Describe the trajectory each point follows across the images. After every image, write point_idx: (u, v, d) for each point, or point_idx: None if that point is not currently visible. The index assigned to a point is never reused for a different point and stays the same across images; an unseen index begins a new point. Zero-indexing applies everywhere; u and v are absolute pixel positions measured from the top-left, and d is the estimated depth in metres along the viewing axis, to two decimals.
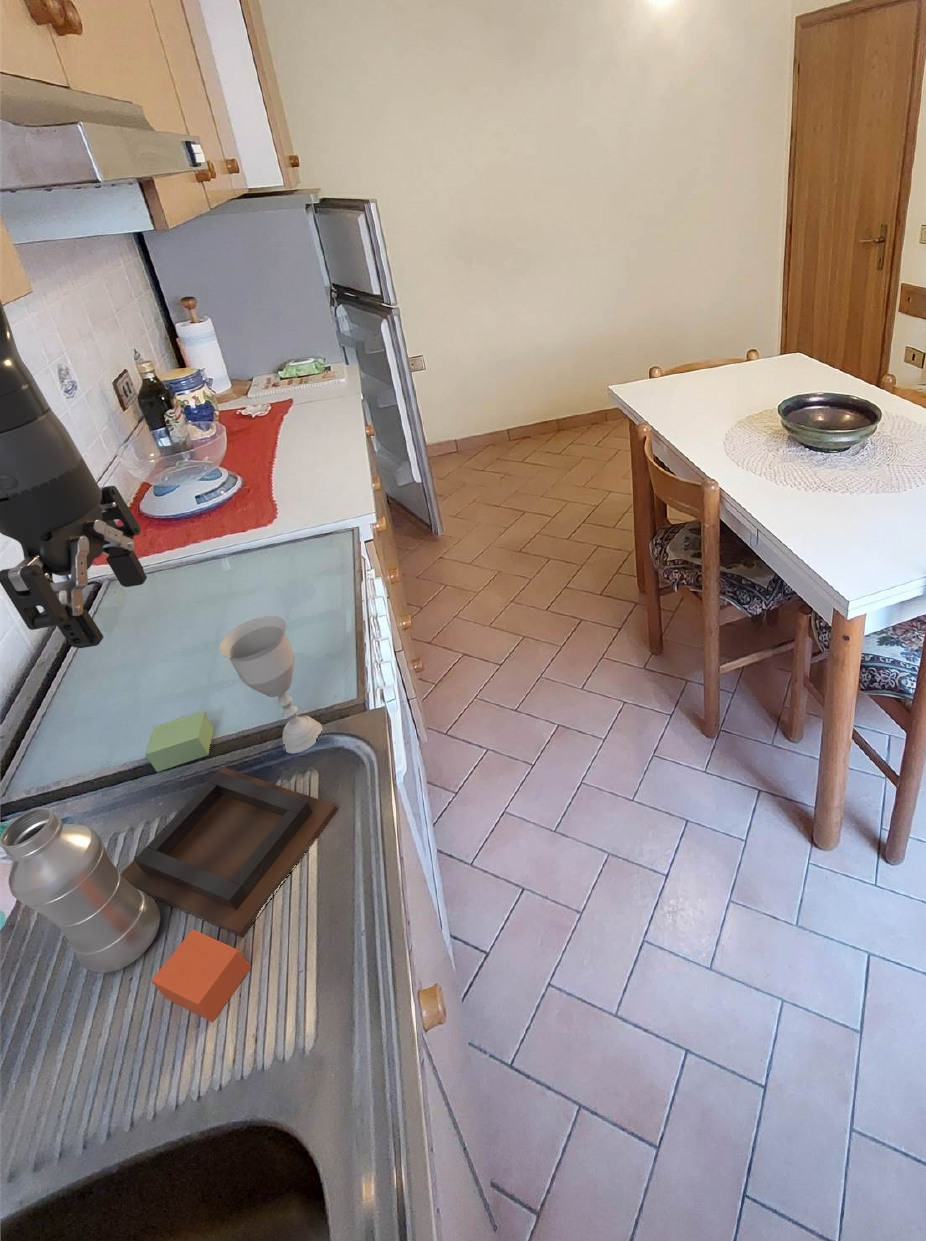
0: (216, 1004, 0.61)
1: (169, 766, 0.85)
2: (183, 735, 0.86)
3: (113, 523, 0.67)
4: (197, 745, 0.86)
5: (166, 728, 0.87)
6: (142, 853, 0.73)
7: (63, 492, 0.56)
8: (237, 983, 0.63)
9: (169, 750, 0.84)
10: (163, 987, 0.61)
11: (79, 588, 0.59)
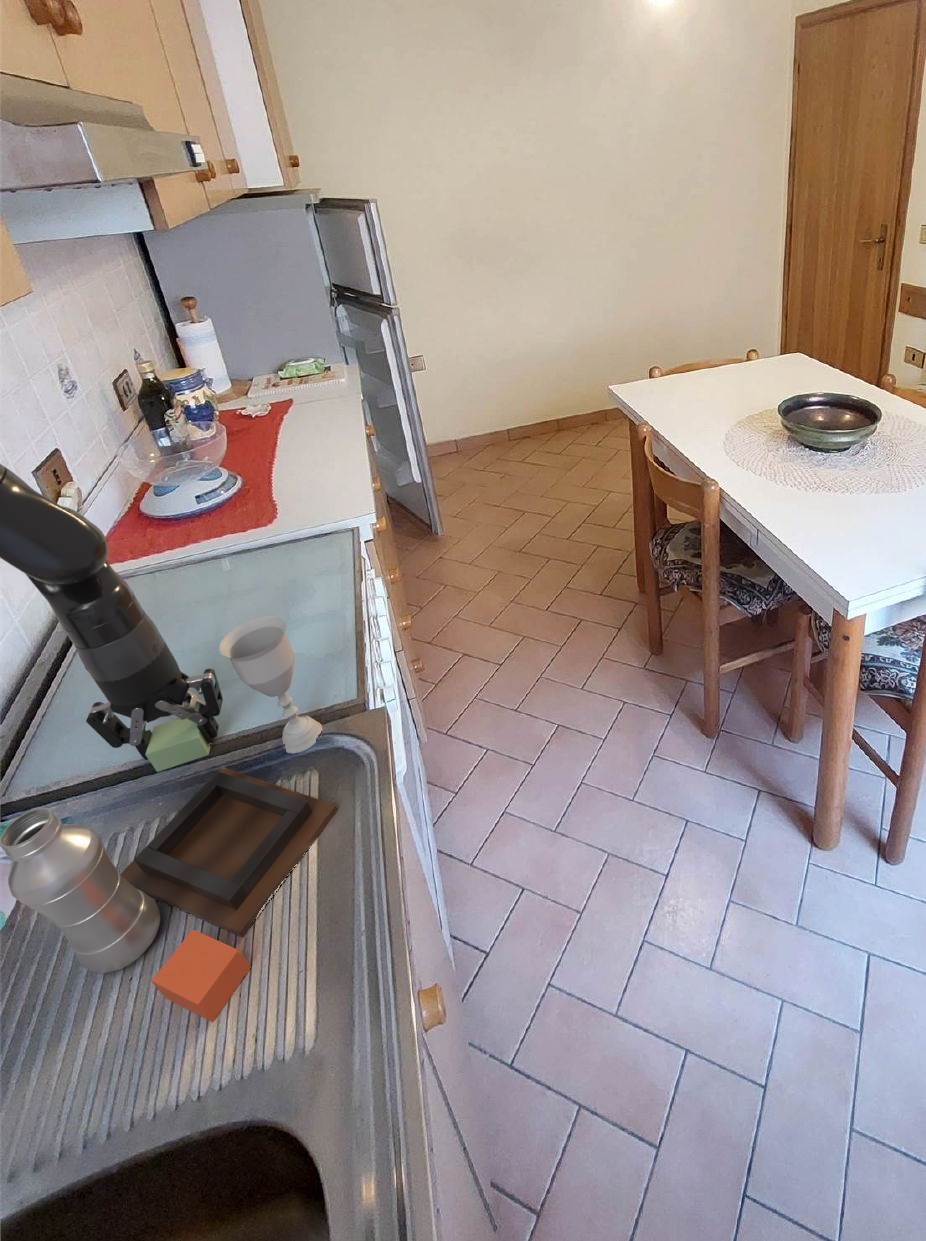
0: (216, 1004, 0.61)
1: (169, 766, 0.85)
2: (183, 735, 0.86)
3: (218, 696, 0.87)
4: (197, 745, 0.86)
5: (166, 728, 0.87)
6: (142, 853, 0.73)
7: (106, 690, 0.77)
8: (237, 983, 0.63)
9: (169, 750, 0.84)
10: (163, 987, 0.61)
11: (137, 732, 0.83)
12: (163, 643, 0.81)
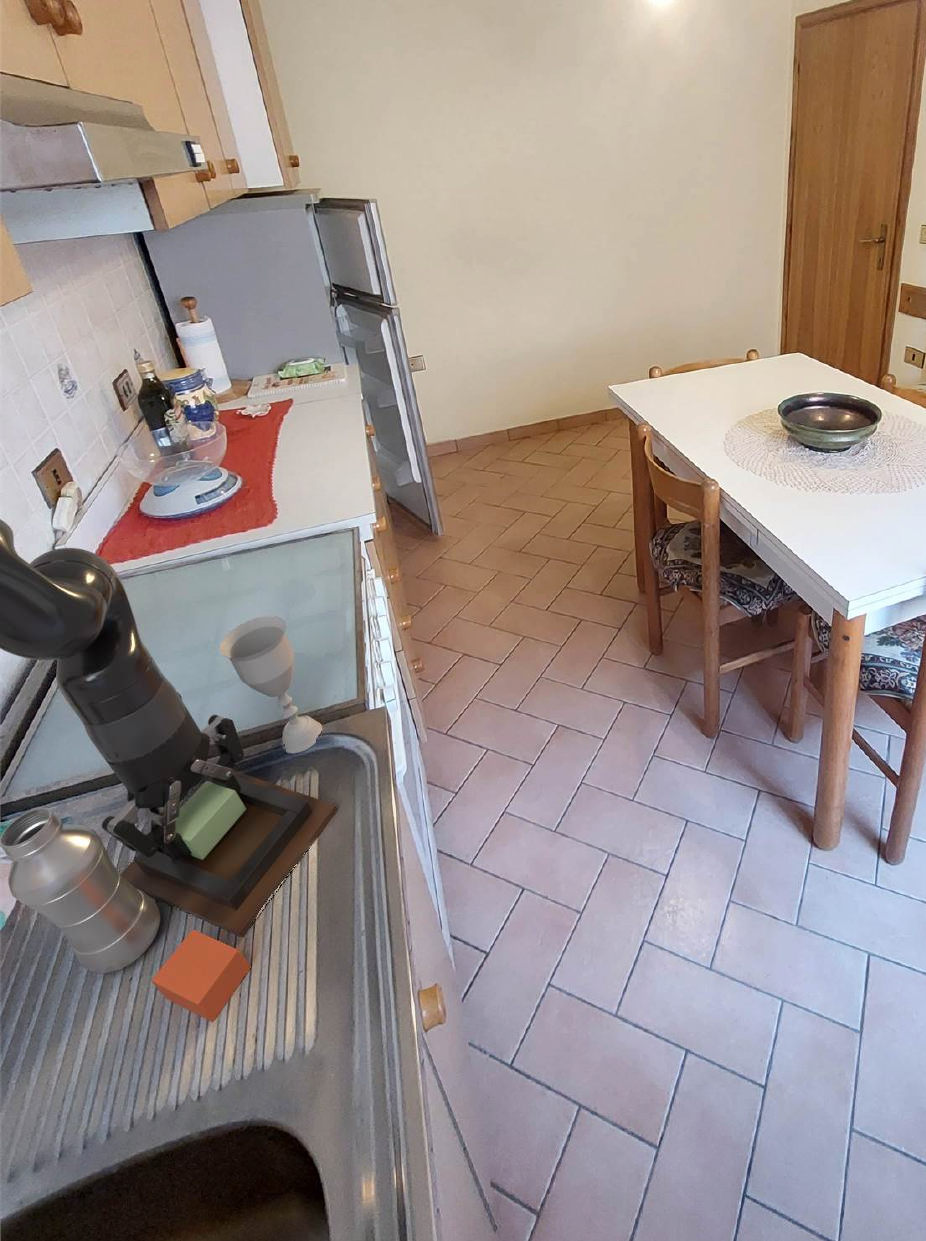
0: (216, 1004, 0.61)
1: (213, 844, 0.74)
2: (214, 802, 0.74)
3: None
4: (236, 801, 0.76)
5: (180, 817, 0.73)
6: None
7: (154, 762, 0.65)
8: (237, 983, 0.63)
9: (211, 822, 0.73)
10: (163, 987, 0.61)
11: (172, 821, 0.70)
12: None
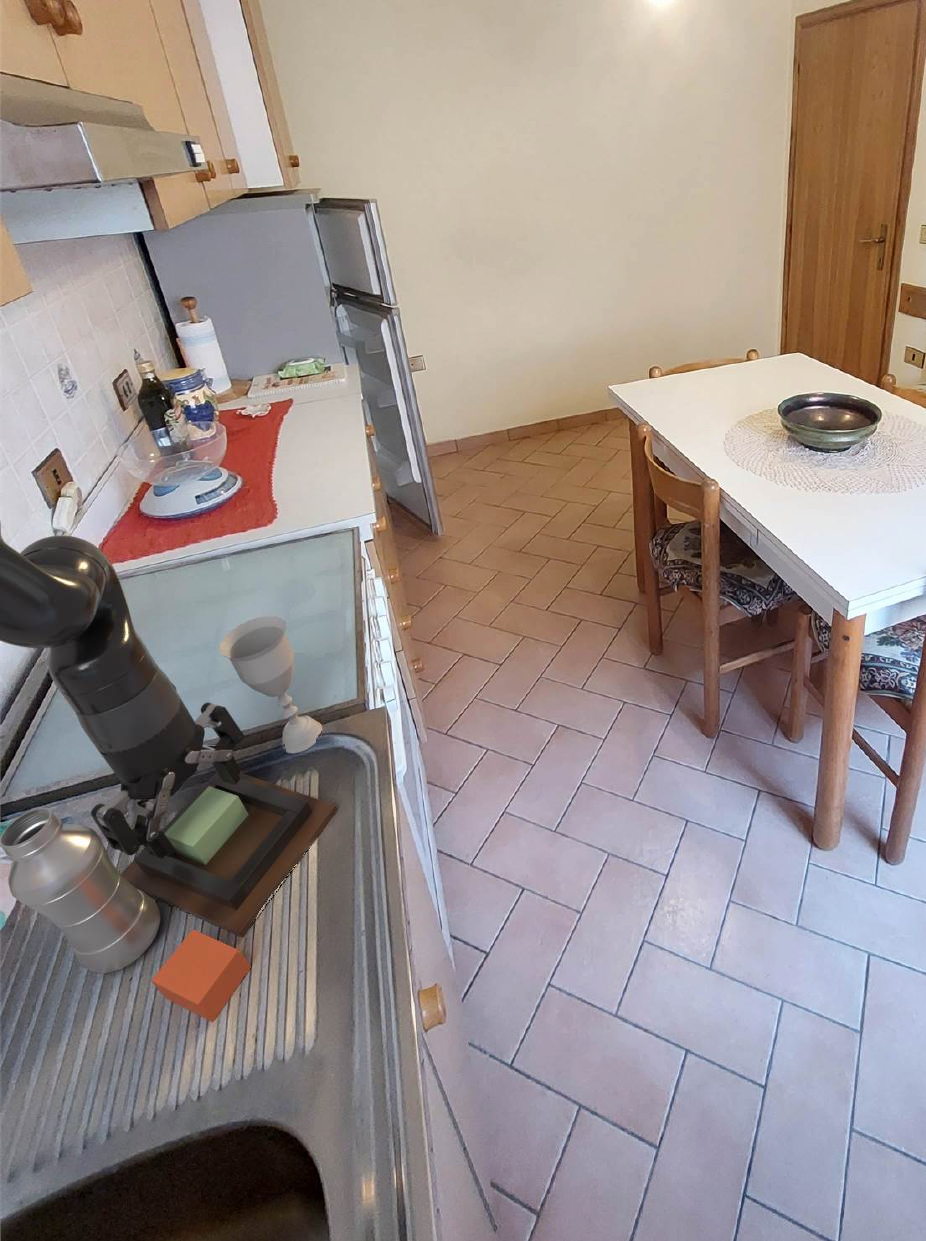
0: (216, 1004, 0.61)
1: (216, 850, 0.74)
2: (216, 808, 0.75)
3: None
4: (238, 806, 0.76)
5: (183, 822, 0.74)
6: (142, 853, 0.73)
7: (148, 752, 0.65)
8: (237, 983, 0.63)
9: (214, 827, 0.74)
10: (163, 987, 0.61)
11: (158, 817, 0.68)
12: None
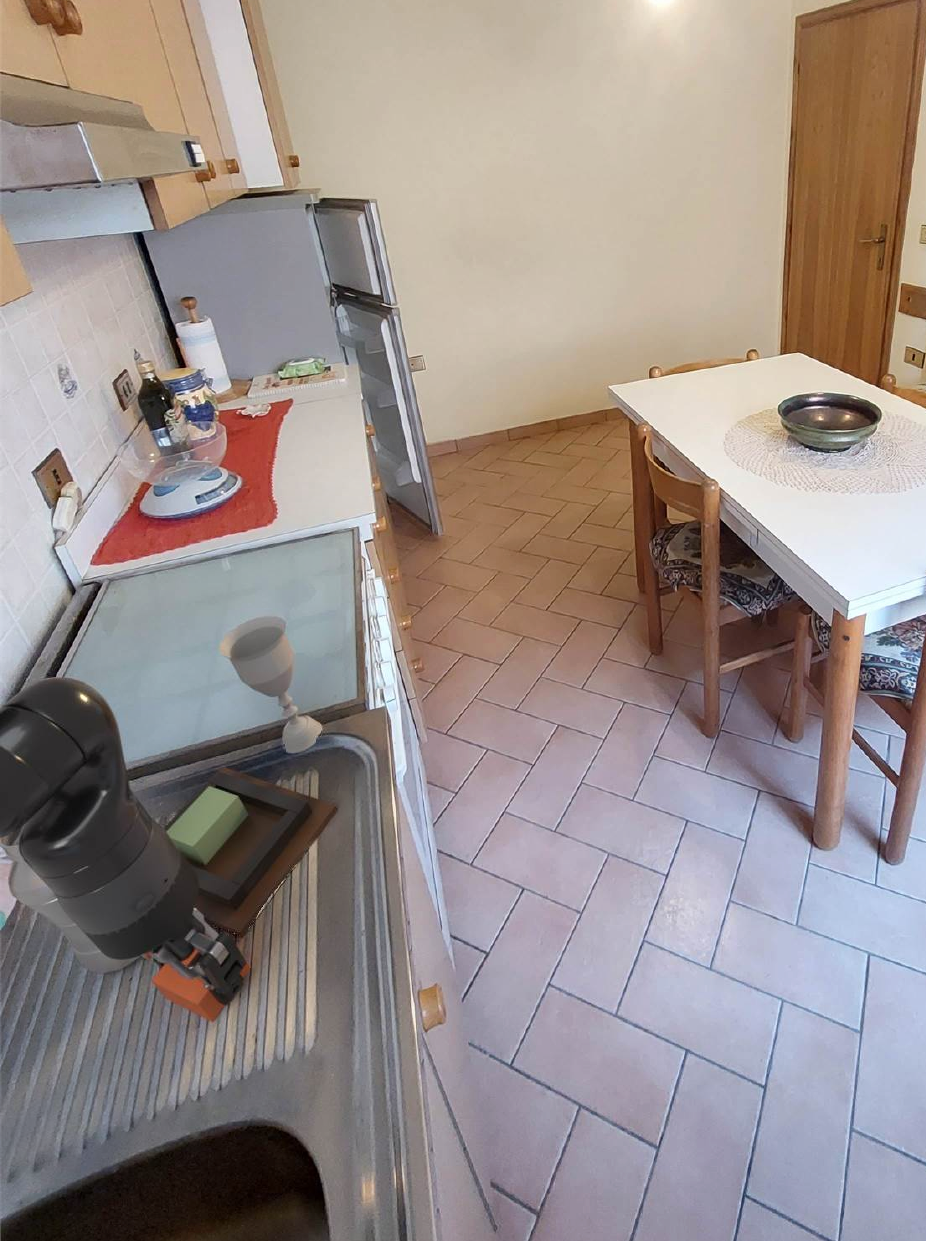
0: (216, 1004, 0.61)
1: (216, 850, 0.74)
2: (216, 808, 0.75)
3: (237, 962, 0.59)
4: (238, 806, 0.76)
5: (183, 822, 0.74)
6: None
7: None
8: None
9: (214, 827, 0.74)
10: (163, 987, 0.61)
11: None
12: (165, 891, 0.55)
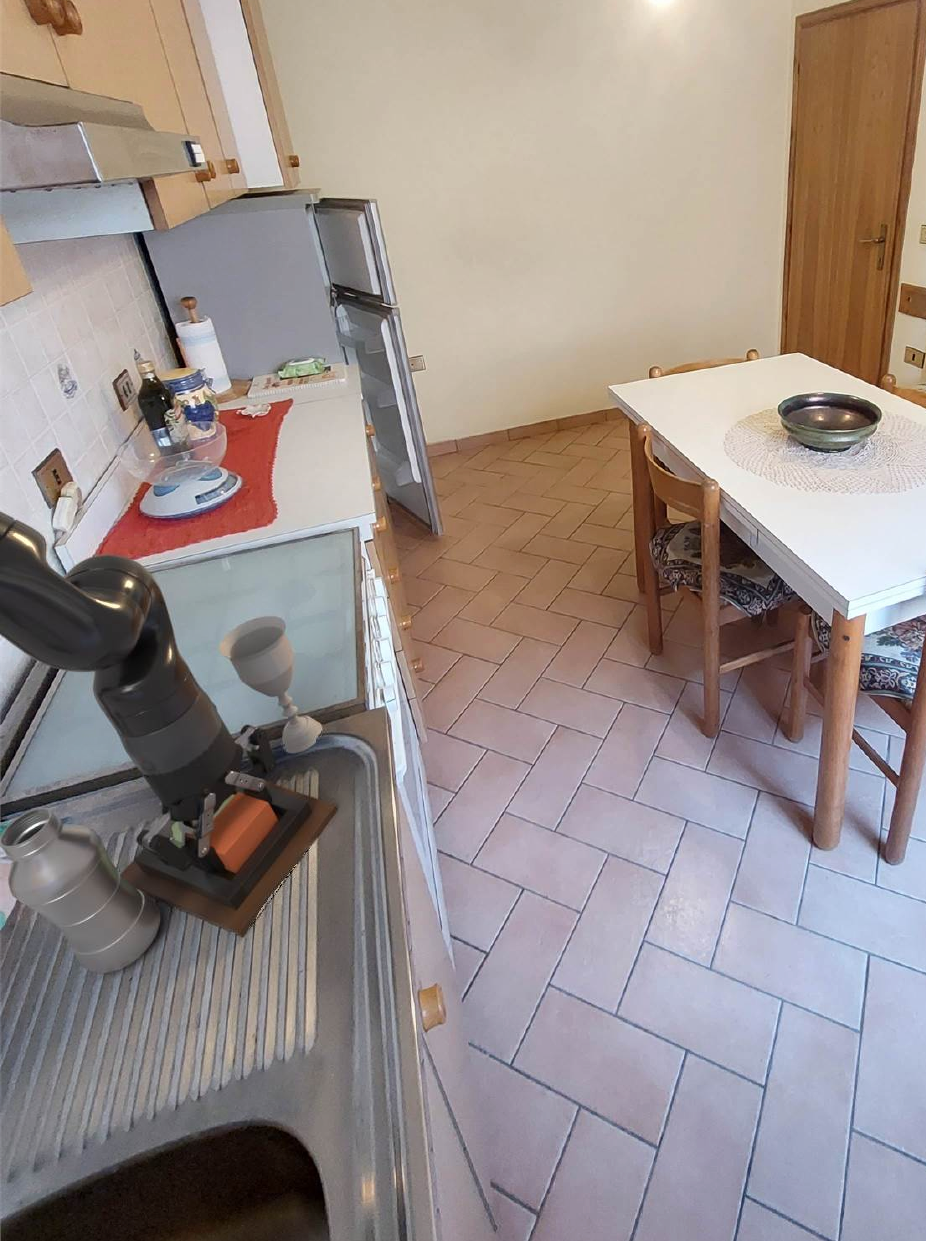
0: None
1: None
2: None
3: None
4: None
5: None
6: (142, 853, 0.73)
7: (190, 774, 0.64)
8: None
9: None
10: (236, 840, 0.70)
11: (206, 834, 0.68)
12: None
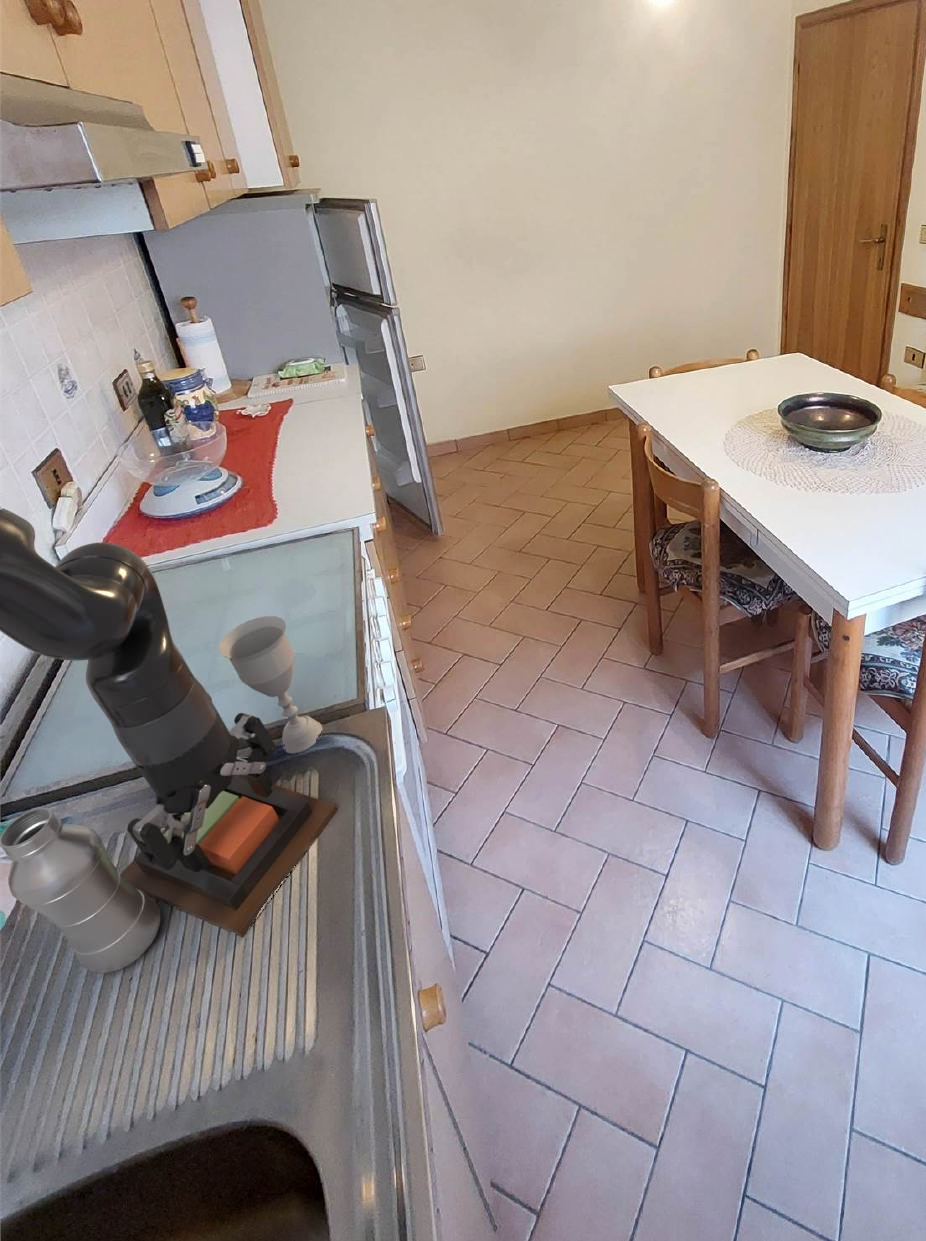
0: None
1: None
2: (216, 808, 0.75)
3: None
4: None
5: None
6: (142, 853, 0.73)
7: (185, 765, 0.63)
8: None
9: (214, 827, 0.74)
10: (240, 844, 0.71)
11: (194, 830, 0.67)
12: None
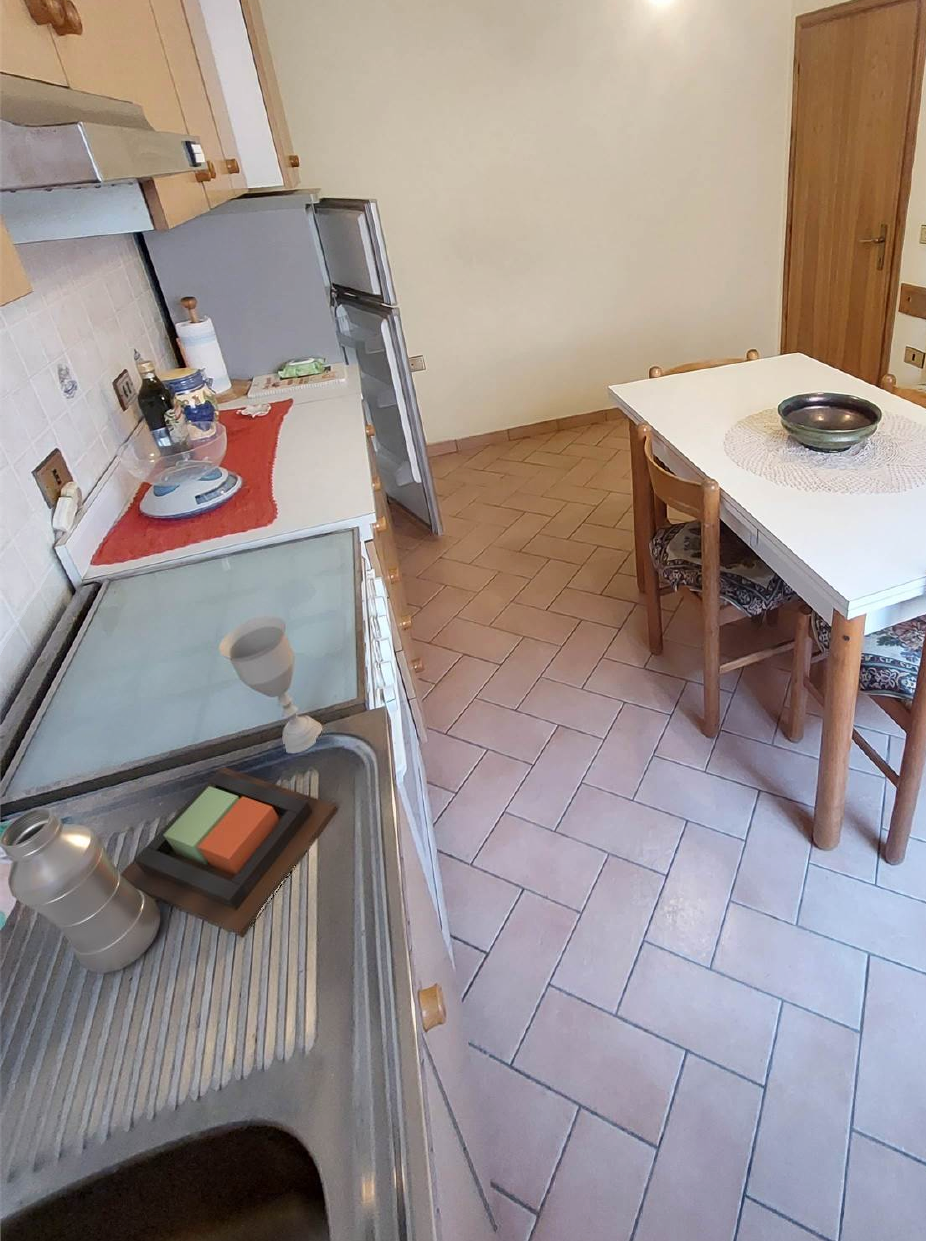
0: None
1: None
2: (216, 808, 0.75)
3: None
4: None
5: (183, 822, 0.74)
6: (142, 853, 0.73)
7: None
8: None
9: (214, 827, 0.74)
10: (240, 844, 0.71)
11: None
12: None
